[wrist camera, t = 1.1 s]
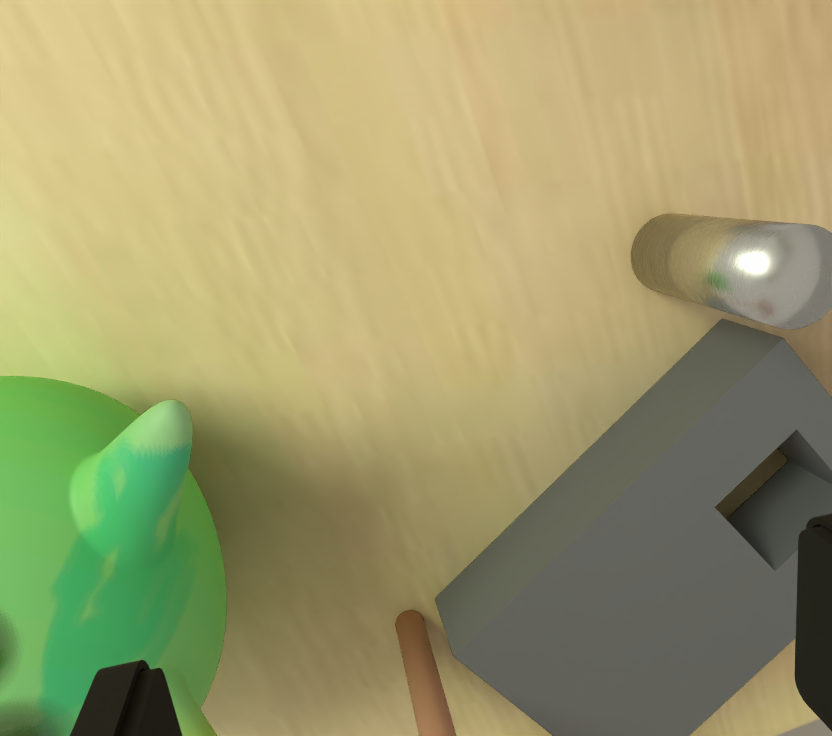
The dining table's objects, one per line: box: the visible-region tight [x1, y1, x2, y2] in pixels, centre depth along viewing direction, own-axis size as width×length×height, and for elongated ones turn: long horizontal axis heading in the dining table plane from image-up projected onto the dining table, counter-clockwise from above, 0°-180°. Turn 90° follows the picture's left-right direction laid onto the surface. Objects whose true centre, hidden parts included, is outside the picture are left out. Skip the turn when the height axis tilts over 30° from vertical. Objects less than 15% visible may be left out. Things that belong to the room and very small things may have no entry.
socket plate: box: [435, 319, 832, 736], centre depth 38 cm, size 22×14×5 cm, turn 135°
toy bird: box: [0, 376, 227, 736], centre depth 28 cm, size 18×17×15 cm
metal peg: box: [631, 214, 832, 329], centre depth 31 cm, size 4×4×10 cm
